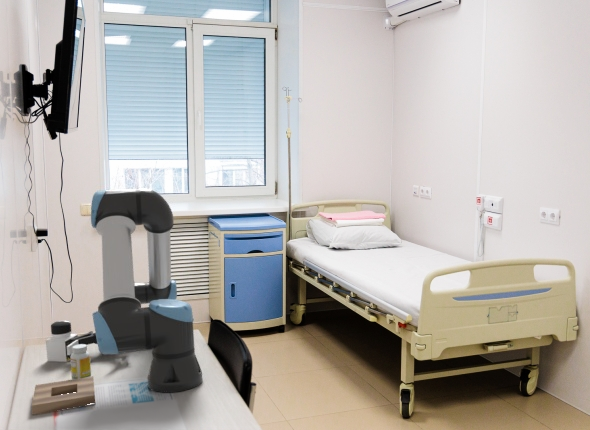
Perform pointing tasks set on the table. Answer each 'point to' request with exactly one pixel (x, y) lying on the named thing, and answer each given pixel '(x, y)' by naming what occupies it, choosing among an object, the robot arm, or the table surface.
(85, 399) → the socket block
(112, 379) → the table surface
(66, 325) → the medicine bottle
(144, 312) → the robot arm
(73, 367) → the supplement bottle
